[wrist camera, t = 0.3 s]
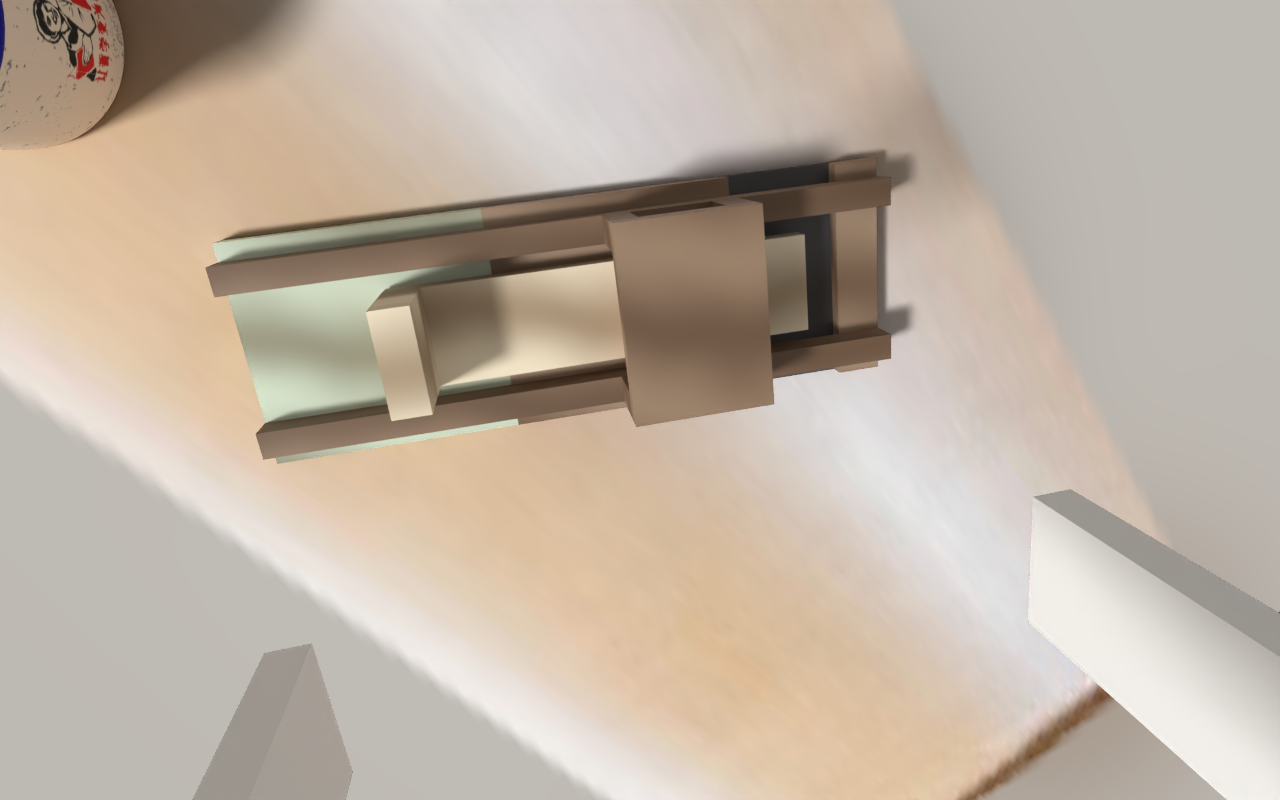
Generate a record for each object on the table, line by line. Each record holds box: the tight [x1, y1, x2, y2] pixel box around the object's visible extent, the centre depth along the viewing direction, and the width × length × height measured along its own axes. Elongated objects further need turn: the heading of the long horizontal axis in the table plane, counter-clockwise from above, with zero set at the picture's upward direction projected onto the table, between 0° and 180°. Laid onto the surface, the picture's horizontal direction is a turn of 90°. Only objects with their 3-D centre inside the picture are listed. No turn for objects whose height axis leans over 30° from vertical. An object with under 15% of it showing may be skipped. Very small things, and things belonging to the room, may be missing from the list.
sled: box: [366, 232, 808, 421], centre depth 33 cm, size 4×19×5 cm, turn 96°
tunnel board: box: [206, 158, 891, 464], centre depth 33 cm, size 10×29×6 cm, turn 96°
